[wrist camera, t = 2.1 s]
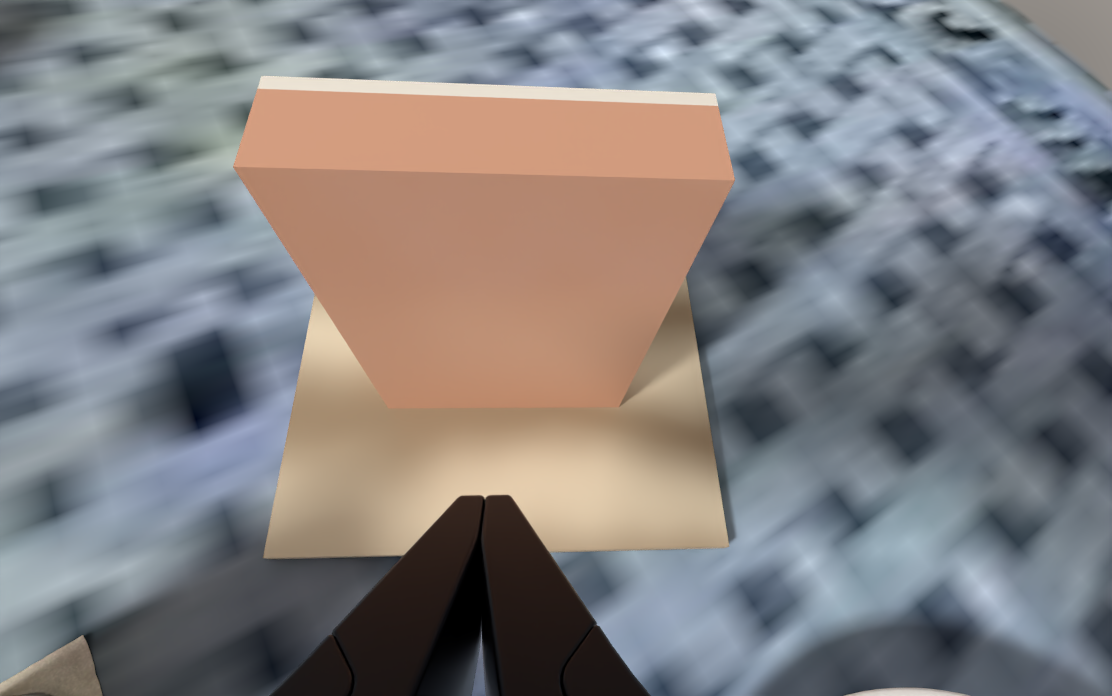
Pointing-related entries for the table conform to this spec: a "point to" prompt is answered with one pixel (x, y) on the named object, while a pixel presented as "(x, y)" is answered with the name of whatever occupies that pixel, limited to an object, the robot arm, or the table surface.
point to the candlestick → (906, 692)
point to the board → (498, 459)
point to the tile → (488, 227)
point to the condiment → (57, 674)
